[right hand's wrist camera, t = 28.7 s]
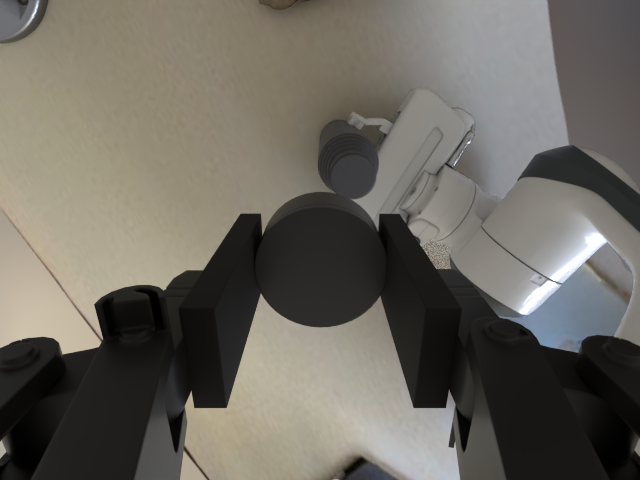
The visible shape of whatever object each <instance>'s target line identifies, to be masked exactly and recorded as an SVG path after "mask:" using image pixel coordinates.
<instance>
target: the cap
mask: <svg viewBox="0 0 640 480" xmlns="http://www.w3.org/2000/svg"><path fill="white" fill-rule="evenodd" d="M386 261H387V254H386V250H385V247H384V245H383V242H382V240H381V238H380V235H379V233H378V230H377V228H376V226H375V224H374V222H373V220H372V218H371V217H370V215H369V214H368V213H367V212H366V211H365V210H364V209H363V208H362V207H361V206H360V205H359V204H357V203H356V202H354V201H353V200H351V199H349V198H347V197H344V196H342V195H339V194H334V193H328V192H314V193H308V194H304V195H301V196H298V197H296V198H294V199H291V200H290V201H288V202H287V203H285V204H284V205H283V206H281V207H280V208H279V209H278V210H277V211H276V212H275V213H274V215H273V216H272V218H271V219H270V221H269V223H268V225H267V227H266V229H265V231H264V234H263V236H262V239H261V241H260V244H259V246H258V249H257V252H256V257H255V278H256V281H257V285H258V287H259V290H260V292H261V294H262V295H263V297H264V299H265V300H266V301H267V303H268V304H269V305H270V306H271V307H272V308H273V309H274V310H275V311H276V312H278V313H279V314H280V315H282V316H283V317H285V318H287V319H289V320H291V321H293V322H295V323H298V324H302V325H306V326H311V327H331V326H337V325H341V324H344V323H347V322H350V321H352V320H354V319H356V318H358V317H359V316H361V315H362V314H364V313H365V312H366V311H367V310H368V309H370V308H371V307H372V306H373V304H374V303H375V302H376V301H377V299H378V298H379V296H380V295H381V293H382V291H383V289H384V286H385V275H386Z"/></svg>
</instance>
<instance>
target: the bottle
mask: <svg viewBox="0 0 640 480" xmlns="http://www.w3.org/2000/svg"><path fill="white" fill-rule="evenodd" d="M346 122H347V121H344V120H335V121H332V122H330V123H329V124H327V125H326V126H325V127H324V129H323V130H322V133H321V136H320V145H319V157H318V170H319V174H320V177H321V179H322V181H323V182H324V183H325V185H326V186H327V187H329V188H330V189H331V190H333V191H334V192H336V193H337V194H339V195H342V196H344V197H347V198H349V199H359V198H362V197H364V196H366V195H367V194H368V193H369V192H370V191H371V190H372V189H373V187H374V185H375V182H376V176H377V173H378V168H379V158H378V154H377V151H376V149H375V147H374V146H373V144H372V143H371V142H370V141H369V140H368V139H367V138H366V137H365V136H364V135H363V134H361V133H360V132H359V131H358V130H357V129H356V128H355V127H354V126H351V125H349V124H348V123H346Z"/></svg>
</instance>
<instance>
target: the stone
mask: <svg viewBox="0 0 640 480" xmlns="http://www.w3.org/2000/svg"><path fill="white" fill-rule="evenodd" d="M296 1H297V0H259V2H260V4H264V5H269V6H270V7H272V8H273V9H285V8H287V7H290V6H292V5H293V4H294V3H295V2H296ZM299 1H302V2H304V1H309V0H299Z"/></svg>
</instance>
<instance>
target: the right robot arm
mask: <svg viewBox="0 0 640 480" xmlns="http://www.w3.org/2000/svg"><path fill="white" fill-rule="evenodd" d="M47 3H48V0H0V43H10V42H14V41H17V40H20V39H22V38H24V37H26V36H27V35H29V34H30V33H31V32H32V31H33V30H35V28H36V27H37V26H38V25H39V23H40V22H41V20H42V18H43V16H44V13H45V10H46V7H47ZM378 233H379V235H380V238H381V240H382V242H383V245H384V247H385V250H386V254H387V261H386V275H385V286H384V289H383V291H382V293H381V295H380V296H381V300H382V303H383V306H384V310H385V313H386V316H387V320H388V323H389V327H390V330H391V333H392V337H393V340H394V343H395V347H396V350H397V353H398V357H399V360H400V363H401V367H402V370H403V374H404V377H405V380H406V384H407V387H408V390H409V394H410V397H411V400H412V404H413V407H414V408H446V404H447V397H448V391H449V390H450V392H451V394H452V397H453V399H454V401H455V404H456V406H455V411H454V417H453V423H452V428H451V434H450V440H449V447H452V448H454V443H455V442H456V450H457V457H458V465H459V473H460V480H640V456H639V455H638V454H637V453H636V452H635V448H636V445H637V443H638V441H639V438H640V346H639V345H636V344H634V343H632V342H631V341H628V340H625V339H622V338H621V339H619V338H618V337H613V336H601V335H596V336H589V337H587V338H585V339H584V340H583V341H582V343H581V346H580V349H579V352H578V353H576V352H570V351H565V350H560V349H555V348H550V347H546V346H542V345H540V344H539V342H538V340H537V338H536V337H535V336H534V334H533V333H532V332H531V331H530V330H528V329H527V328H525V327H524V326H522V325H521V324H518V323H516V322H513V321H511V320H508V319H503V318H499V317H498V316H497V314H496V313H495V312H494V311H493V309H492V308H491V307H490V306H489V304H488V303H487V302H486V301H485V299H484V298H483V297H482V296H480V293H479V292H478V291H477V289H476V288H474V286H473V284H472V283H471V282H470V281H469V279H468V278H467V277H466V276H464V275H462V274H461V273H459V272H457V271H456V270H454V269H436V268H435V267H434V265H433V264H432V262H431V261H430V259H429V258H428V256H427V255H426V253H425V252H424V250H423V249H422V247H421V246H420V244H419V242H418V241H417V239H416V238H415V236H414V235H413V233H412V232H411V230H410V229H409V227H408V226H407V224H406V223H405V221H404V220H403V218H402V217H401V215H400V214H379V226H378ZM261 239H262V222H261V214H240V216H239V217H238V219H237V220H236V222H235V223H234V225H233V226H232V228H231V229H230V231H229V232H228V234H227V235H226V237H225V238H224V240H223V241H222V243H221V244H220V246H219V247H218V249H217V250H216V252H215V253H214V255H213V257H212V258H211V260H210V261H209V263H208V264H207V266H206V267H205V269H204V270H187V271H185V272H183V273H182V274H180V275H179V276H177V277H175V278H174V279H173V280H172V281H171V282H170V284H169V285H168V286H167V288H166V290H164V291H163V290H162V289H161V288H159V287H156V286H152V285H136V286H130V287H125V288H122V289H119V290H116V291H113V292H111V293H109V294H107V295H105V296H103V297H101V298H100V299H99V300H98V301H97V302H96V303H95V304H94V305H95V309H96V313H97V317H98V320H99V324H100V328H101V332H102V336H103V340H102V342H101V344H100V346H99V347H98V348H94V349H89V350H84V351H79V352H74V353H68V354H63V355H62V351H61V348H60V345H59V343H58V342H57V341H56V340H55V339H53V338H47V337H37V338H27V339H22V340H21V341H20V340H18V341H15V342H12V343H10V344H9V345H7V346H4V347H2V348H0V441H1V440H2V442H3V444H4V447H5V449H6V451H7V452H6V453H5V454H4V455H3V456H2V457H1V459H0V480H180V474H181V466H182V458H183V451H184V443H185V435H186V427H187V418H186V411H185V404H186V402H187V399H188V397H189V395H190V392H191V390H192V396H193V402H194V408H227V405H228V401H229V398H230V395H231V391H232V388H233V385H234V381H235V378H236V374H237V371H238V368H239V364H240V361H241V358H242V354H243V351H244V348H245V344H246V341H247V337H248V334H249V331H250V327H251V324H252V321H253V317H254V314H255V311H256V307H257V304H258V300H259V297H260V294H261V292H260V290H259V287H258V285H257V281H256V278H255V257H256V252H257V249H258V246H259V244H260V241H261Z"/></svg>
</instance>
